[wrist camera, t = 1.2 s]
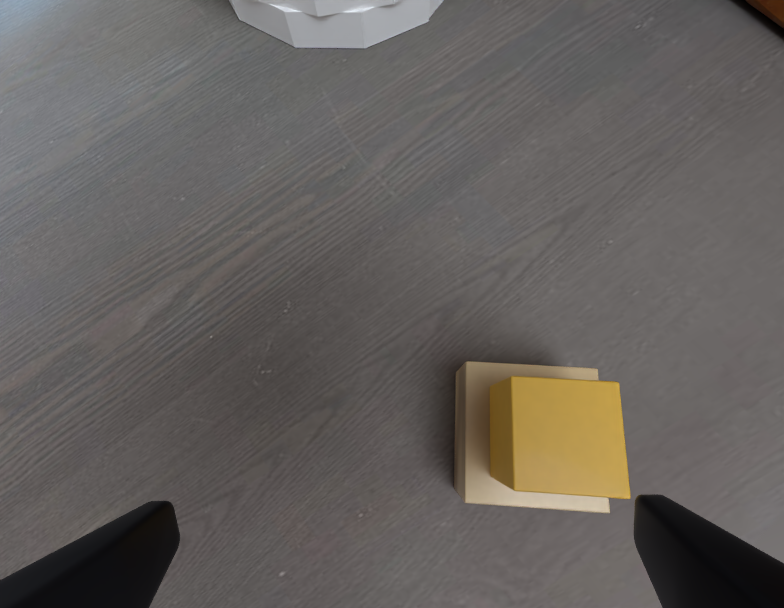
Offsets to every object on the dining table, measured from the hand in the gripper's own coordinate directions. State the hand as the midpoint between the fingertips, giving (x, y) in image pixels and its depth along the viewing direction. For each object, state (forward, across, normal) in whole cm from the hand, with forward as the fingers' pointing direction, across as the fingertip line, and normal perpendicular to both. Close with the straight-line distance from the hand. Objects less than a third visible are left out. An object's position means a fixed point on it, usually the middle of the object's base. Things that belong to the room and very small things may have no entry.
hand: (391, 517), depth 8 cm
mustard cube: (+13, -6, +6) cm, 15 cm away
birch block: (+17, -5, +8) cm, 19 cm away
